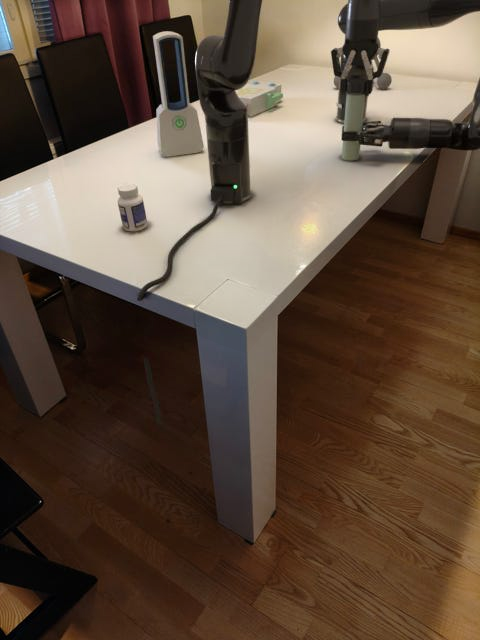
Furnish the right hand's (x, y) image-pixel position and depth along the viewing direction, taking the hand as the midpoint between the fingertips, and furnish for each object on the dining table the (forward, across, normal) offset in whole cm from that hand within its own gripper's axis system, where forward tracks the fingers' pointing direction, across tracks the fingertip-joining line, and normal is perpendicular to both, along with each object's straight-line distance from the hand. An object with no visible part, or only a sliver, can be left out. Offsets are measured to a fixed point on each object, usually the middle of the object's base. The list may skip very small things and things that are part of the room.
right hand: (342, 133), depth 128 cm
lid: (-3, 0, -12) cm, 13 cm away
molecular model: (-6, -81, +6) cm, 81 cm away
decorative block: (+33, -48, +6) cm, 59 cm away
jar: (-3, 0, +6) cm, 7 cm away
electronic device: (+46, -3, +7) cm, 46 cm away
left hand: (-3, 0, -9) cm, 10 cm away
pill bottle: (+43, +44, +7) cm, 62 cm away
